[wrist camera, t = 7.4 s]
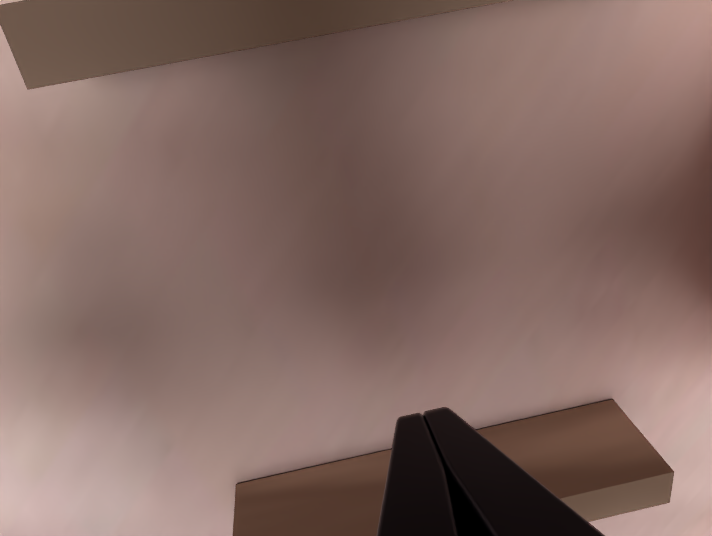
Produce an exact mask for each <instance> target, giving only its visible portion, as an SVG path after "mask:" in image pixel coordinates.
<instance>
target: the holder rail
mask: <svg viewBox="0 0 712 536" xmlns="http://www.w3.org/2000/svg"><path fill="white" fill-rule="evenodd" d="M506 1H511V0H24V1H19V2H13V3H7V4H2V5H0V24H1V27H2V29H3V32H4V34H5V36H6V39H7V41H8V44H9V46H10V48H11V51H12V53H13V56H14V58H15V60H16V63H17V65H18V68H19V70H20V72H21V75H22V77H23V80H24V82H25V85H26V87H27V89H34V88H39V87H45V86H50V85H55V84H61V83H66V82H72V81H77V80H83V79H88V78H93V77H99V76H104V75H110V74H115V73H120V72H126V71H131V70H137V69H142V68H148V67H153V66H158V65H164V64H169V63H175V62H180V61H186V60H191V59H196V58H202V57H207V56H213V55H218V54H224V53H229V52H234V51H240V50H245V49H251V48H256V47H262V46H267V45H272V44H278V43H283V42H289V41H294V40H300V39H305V38H310V37H316V36H321V35H327V34H332V33H338V32H343V31H348V30H354V29H359V28H365V27H370V26H376V25H381V24H386V23H392V22H397V21H403V20H408V19H414V18H419V17H424V16H430V15H435V14H441V13H446V12H451V11H457V10H462V9H468V8H473V7H479V6H484V5H489V4H495V3H500V2H506ZM476 431H477V432H479V433H480V434H481V435H482V436H484V437H485V438H486V439H487V440H488V441H490V442H491V443H492V444H493V445H495V446H496V447H497V448H498V449H499V450H501V451H502V452H503V453H504V454H506V455H507V456H508V457H509V458H510V459H512V460H513V461H514V462H515V463H517V464H518V465H519V466H520V467H522V468H523V469H524V470H525V471H526V472H528V473H529V474H530V475H531V476H533V477H534V478H535V479H536V480H537V481H539V482H540V483H541V484H542V485H544V486H545V487H546V488H547V489H548V490H550V491H551V492H552V493H553V494H555V495H556V496H557V497H558V498H559V499H561V500H562V501H563V502H564V503H566V504H567V505H568V506H569V507H570V508H572V509H573V510H574V511H575V512H577V513H578V514H579V515H580V516H581V517H583V518H584V519H585V520H586V521H588V522H590V521H594V520H598V519H602V518H607V517H611V516H615V515H619V514H623V513H628V512H632V511H636V510H640V509H644V508H649V507H653V506H657V505H661V504H666V503H670V497H671V490H672V483H673V476H674V471H673V470H672V469H671V468H670V466H669V465H668V464H667V463H666V462H665V460H664V459H663V458H662V457H661V456H660V455H659V453H658V452H657V451H656V450H655V449H654V447H653V446H652V445H651V444H650V443H649V442H648V440H647V439H646V438H645V437H644V436H643V434H642V433H641V432H640V431H639V430H638V428H637V427H636V426H635V425H634V424H633V423H632V421H631V420H630V419H629V418H628V417H627V415H626V414H625V413H624V412H623V411H622V410H621V408H620V407H619V406H618V405H617V404H616V402H615V401H614V400H613V399H612V400H607V401H603V402H599V403H594V404H590V405H585V406H581V407H576V408H572V409H568V410H563V411H559V412H554V413H550V414H545V415H541V416H536V417H532V418H528V419H523V420H519V421H514V422H510V423H505V424H501V425H497V426H492V427H488V428H483V429H479V430H476ZM391 450H392V449H390V450H386V451H381V452H377V453H372V454H368V455H364V456H359V457H355V458H350V459H346V460H341V461H337V462H333V463H328V464H324V465H319V466H315V467H310V468H306V469H302V470H297V471H293V472H288V473H284V474H279V475H275V476H271V477H266V478H262V479H257V480H253V481H248V482H244V483H240V484H236V493H235V509H234V524H233V536H376V535H377V529H378V524H379V518H380V512H381V507H382V501H383V495H384V490H385V484H386V478H387V473H388V467H389V461H390V456H391Z"/></svg>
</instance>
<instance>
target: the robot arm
mask: <svg viewBox="0 0 712 536" xmlns="http://www.w3.org/2000/svg"><path fill="white" fill-rule="evenodd" d="M376 536H605V535H603V534H602V533H601V532H600V531H599V530H597V529H596V528H595V527H594V526H592V525H591V524H590V523H589V522H588V521H586V520H585V519H584V518H583V517H581V516H580V515H579V514H578V513H577V512H575V511H574V510H573V509H572V508H570V507H569V506H568V505H567V504H566V503H564V502H563V501H562V500H561V499H559V498H558V497H557V496H556V495H555V494H553V493H552V492H551V491H550V490H548V489H547V488H546V487H545V486H544V485H542V484H541V483H540V482H539V481H537V480H536V479H535V478H534V477H533V476H531V475H530V474H529V473H528V472H526V471H525V470H524V469H523V468H522V467H520V466H519V465H518V464H517V463H515V462H514V461H513V460H512V459H510V458H509V457H508V456H507V455H506V454H504V453H503V452H502V451H501V450H499V449H498V448H497V447H496V446H495V445H493V444H492V443H491V442H490V441H488V440H487V439H486V438H485V437H484V436H482V435H481V434H480V433H479V432H477V431H476V430H475V429H474V428H473V427H471V426H470V425H469V424H468V423H466V422H465V421H464V420H463V419H462V418H460V417H459V416H458V415H457V414H455V413H454V412H453V411H452V410H451V409H449V408H447V407H442V408H438V409H433V410H429V411H425V412H424V414H423V415H422V414H420V413H415V414H411V415H406V416H402V417H399V418H398V419H397V422H396V427H395V433H394V439H393V444H392V450H391V456H390V461H389V467H388V473H387V478H386V484H385V490H384V495H383V501H382V507H381V512H380V518H379V524H378V529H377V535H376Z"/></svg>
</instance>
